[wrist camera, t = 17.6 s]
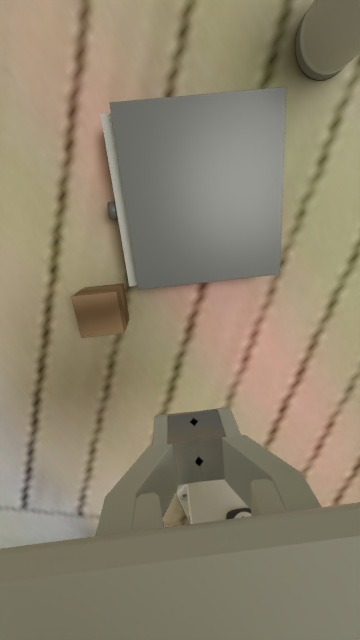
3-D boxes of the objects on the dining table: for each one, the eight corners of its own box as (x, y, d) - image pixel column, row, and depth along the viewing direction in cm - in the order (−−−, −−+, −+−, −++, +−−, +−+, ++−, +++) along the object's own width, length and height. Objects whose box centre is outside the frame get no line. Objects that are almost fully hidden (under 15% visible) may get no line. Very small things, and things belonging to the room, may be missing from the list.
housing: (262, 268, 33) (279, 274, 28) (142, 281, 33) (138, 289, 28) (264, 112, 28) (286, 86, 23) (119, 126, 27) (109, 102, 22)
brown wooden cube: (129, 319, 34) (123, 333, 30) (92, 323, 34) (81, 337, 30) (123, 283, 33) (116, 291, 28) (84, 287, 33) (71, 296, 28)
